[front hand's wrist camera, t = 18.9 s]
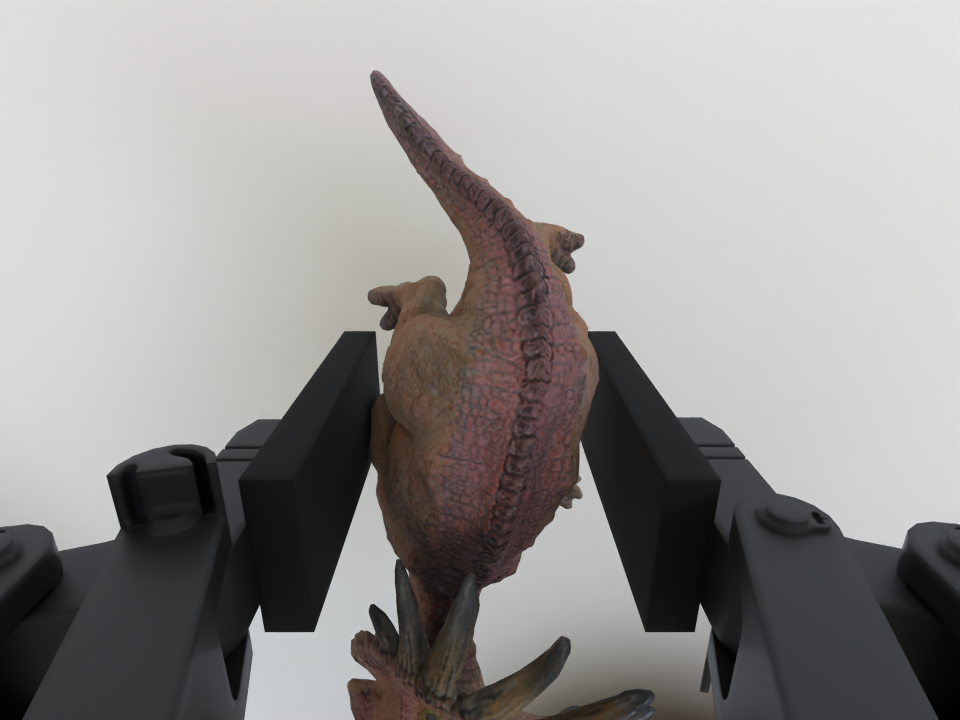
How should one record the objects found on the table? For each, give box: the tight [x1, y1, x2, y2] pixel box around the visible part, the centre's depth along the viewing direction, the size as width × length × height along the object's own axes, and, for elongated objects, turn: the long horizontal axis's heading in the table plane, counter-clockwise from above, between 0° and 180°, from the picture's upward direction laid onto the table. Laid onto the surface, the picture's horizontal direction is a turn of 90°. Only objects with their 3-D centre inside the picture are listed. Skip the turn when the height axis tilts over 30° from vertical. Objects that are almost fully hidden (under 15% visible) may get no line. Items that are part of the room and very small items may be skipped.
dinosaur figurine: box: [347, 70, 655, 720], centre depth 11 cm, size 14×6×9 cm, turn 179°
